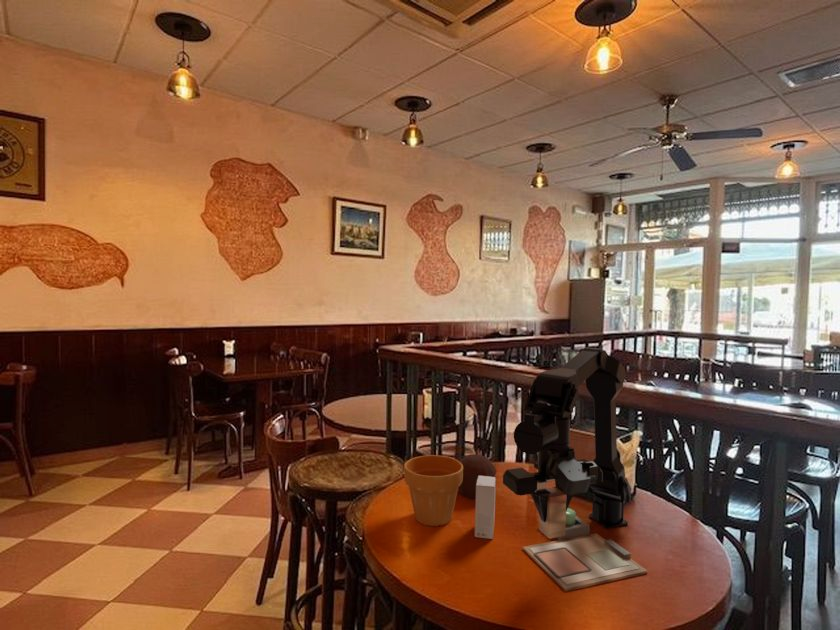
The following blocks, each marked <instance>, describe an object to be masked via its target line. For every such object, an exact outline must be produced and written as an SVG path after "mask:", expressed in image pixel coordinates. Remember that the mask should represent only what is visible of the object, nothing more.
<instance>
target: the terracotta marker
mask: <svg viewBox="0 0 840 630" xmlns="http://www.w3.org/2000/svg"><path fill="white" fill-rule="evenodd" d="M546 489H547V490H548V491H549V492H551V494H550V495H549V496H548V497H547V517H546V522H543V521H542V520H541V518H540V515H539V514H538V515H539V517H538V530H539V532H541V533H542V534H543V535H544V536H545V537H547V538H548V539H550V540H551V539H557V538H556V537H561V536H565V527H566V499H567V495H566V494H565V493H563V492H562V491H561V490H559V489H558V488H556V486H554V487H553V486H552V487H546Z"/></svg>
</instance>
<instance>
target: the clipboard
mask: <svg viewBox="0 0 840 630" xmlns="http://www.w3.org/2000/svg"><path fill="white" fill-rule="evenodd" d="M522 550H523V551H524V552H525V553H526V554H527V555H528V556H529V558H531V559H532V560H533V561H534V562H535V563H536V564H537V565H538V566H539V567H540V569H542V570H543V571H544V572H545V573H546V574H547V575H548V576H549V577H550V578H551V579H552V580H553V581H554V582H555V583H556V584H557V585H558V586H560V588H561V589H562V590H563V591H564V592H569V591H575V590H579V589H582V588H588V587H593V586H595V585H601V584H605V583H610V582H614V581H620V580H624V579H628V578H631V577H633V578H634V577H638V576H641V575H646V574H648V570H647V569H646V568H644V567H643V566H642V565H640V564H639V563H638V562H636V561H635V560H634V559H632V558H631V556H632V554H631V552H629V551H628V550H626V549H625V548H624V547H622V546H620V545H619V544H618V543H617V542H615V541H614V540H612V539H610V538H608V539H604V537H602V536H600V535H599V534H598V533H591V534H590V535H585V536H580V537H574V538H569V539H564V540H558V539H557V540H553V541H548V542H542V543H536V544H531V545H527V546H522ZM645 573H646V574H645Z"/></svg>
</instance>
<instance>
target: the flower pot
mask: <svg viewBox="0 0 840 630" xmlns="http://www.w3.org/2000/svg"><path fill="white" fill-rule="evenodd" d="M459 461H460V460H458V459H456V458H453V457H450V456H446V455H439V454H438V455H436V454H432V455H431V454H428V455H420V456H416V457H412V458H410V459H409V460H407V461H406V462H405V463H404V466H403V467H404V468H403V469H404V470H403V471H404V472H403V474H404V475H403V476H404V482H405V484H406V485H407V487H408V489H409V494H410V500H411V504H412V510H413V513H414V517H415V520H416V521H417V523H421V524H422V525H425V526H428V525H429V527H430V526H431V527H439V525H440V526H443V525H446V524H448V523H449V522H451V520H452V517H453V513H454V509H455V504H456V499H457V495H458V492H459V490H458V487H459V486H460V485H461V484H462V481H463V465H462V464H461V462H459Z"/></svg>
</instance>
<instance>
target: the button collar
mask: <svg viewBox="0 0 840 630" xmlns="http://www.w3.org/2000/svg"><path fill="white" fill-rule="evenodd" d="M590 527H591V526H590V525H589V523H587V522H585V520H583V519H581V518H580V517H579V516H577V515H576V517H575V525H572V526H567V527H565V536H561V537H556V538H555V539H557V541H558V540H564V539H569V538H574V537H580V536H585V535H591V534H590V532H591V529H590Z"/></svg>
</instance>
